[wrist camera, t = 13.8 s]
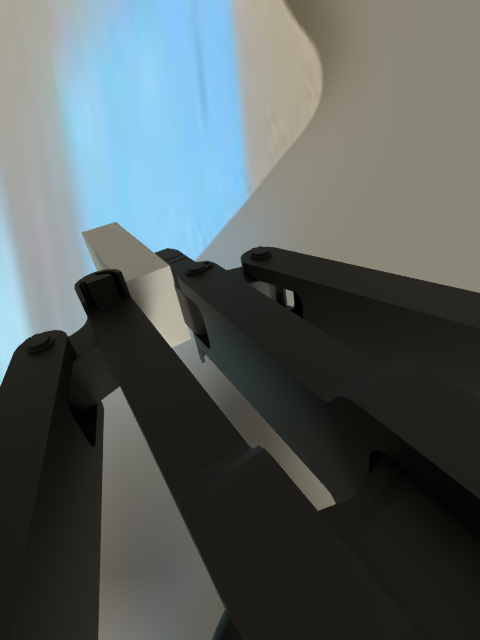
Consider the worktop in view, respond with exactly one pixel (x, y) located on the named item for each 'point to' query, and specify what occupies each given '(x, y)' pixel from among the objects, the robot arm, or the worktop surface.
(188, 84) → the worktop surface
